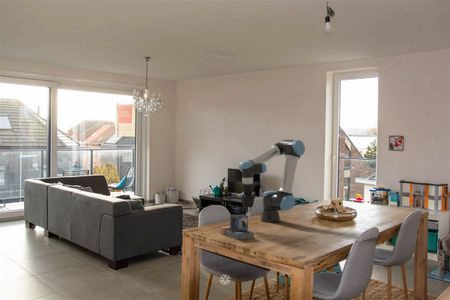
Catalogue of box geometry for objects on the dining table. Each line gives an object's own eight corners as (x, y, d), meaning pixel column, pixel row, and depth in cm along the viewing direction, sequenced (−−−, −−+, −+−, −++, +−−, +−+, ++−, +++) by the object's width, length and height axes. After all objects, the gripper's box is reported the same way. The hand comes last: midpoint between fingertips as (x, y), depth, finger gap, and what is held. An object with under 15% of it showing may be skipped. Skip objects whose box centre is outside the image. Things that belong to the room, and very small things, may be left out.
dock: (234, 230, 270) (234, 226, 270) (253, 237, 253) (253, 232, 253) (219, 233, 263) (219, 228, 263) (239, 240, 246) (239, 235, 246)
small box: (232, 232, 251) (232, 216, 251) (229, 230, 257) (229, 214, 257) (248, 231, 254) (248, 215, 253) (244, 229, 260) (245, 214, 260)
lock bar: (236, 230, 269) (236, 224, 269) (239, 231, 266) (239, 225, 266) (220, 233, 261) (221, 227, 261) (223, 234, 259) (223, 228, 259)
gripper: (251, 181, 278) (252, 214, 280) (237, 183, 271) (237, 217, 272) (258, 182, 272) (258, 216, 274) (243, 184, 265) (244, 219, 266)
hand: (248, 216), depth 273 cm, fingers closed
